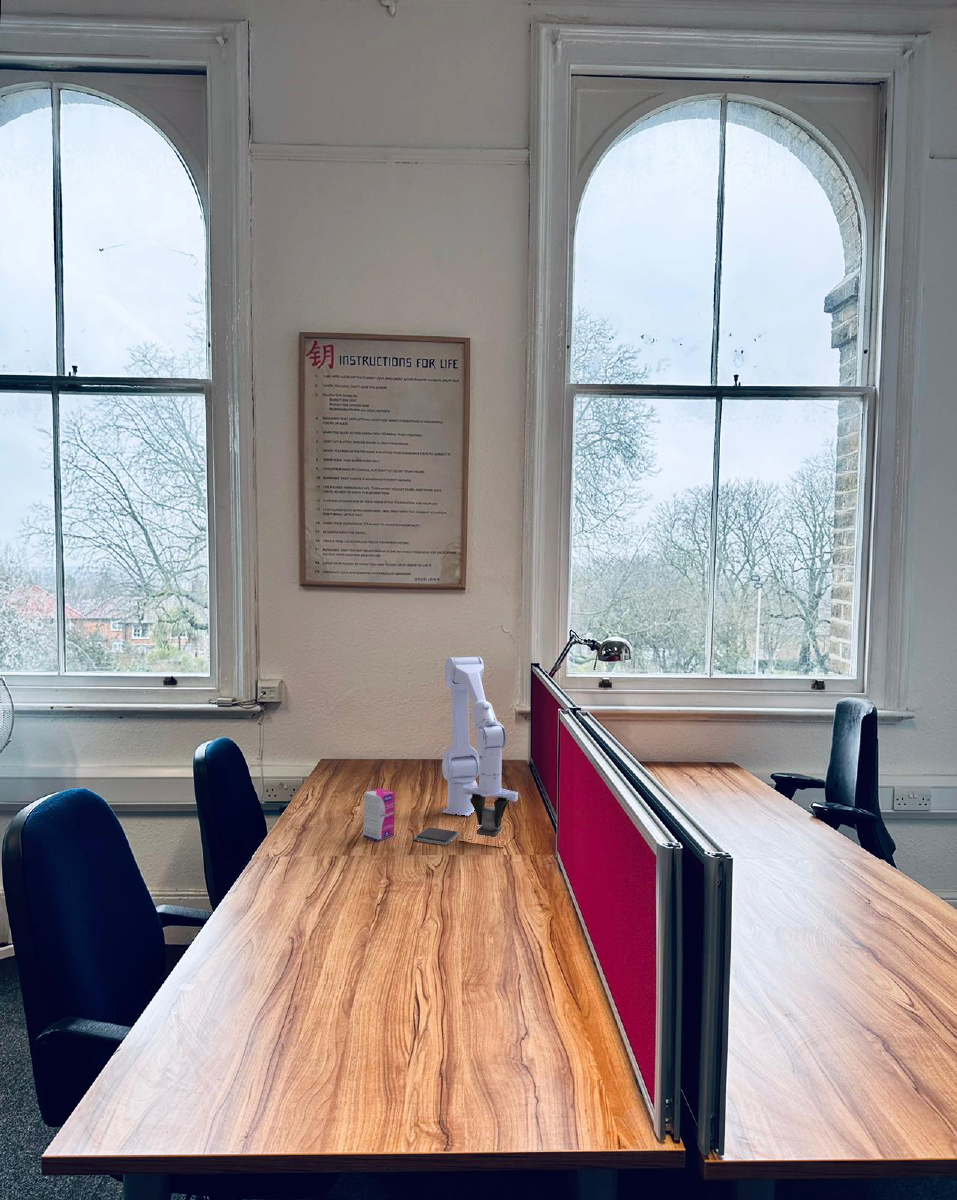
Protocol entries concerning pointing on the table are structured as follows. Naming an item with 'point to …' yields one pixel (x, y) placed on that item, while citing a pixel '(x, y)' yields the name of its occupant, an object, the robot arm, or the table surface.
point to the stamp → (488, 823)
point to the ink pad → (436, 836)
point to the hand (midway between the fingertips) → (489, 825)
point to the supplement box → (379, 814)
